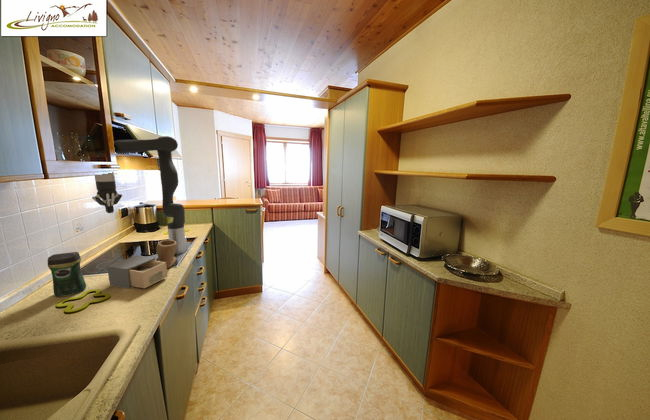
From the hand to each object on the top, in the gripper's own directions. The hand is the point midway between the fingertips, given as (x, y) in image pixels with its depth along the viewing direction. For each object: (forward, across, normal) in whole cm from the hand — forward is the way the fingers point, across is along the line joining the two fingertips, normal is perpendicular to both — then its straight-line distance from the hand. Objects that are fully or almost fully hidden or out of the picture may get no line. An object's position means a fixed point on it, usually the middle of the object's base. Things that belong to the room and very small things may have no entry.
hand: (110, 212), depth 122 cm
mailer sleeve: (+32, -8, -22) cm, 40 cm away
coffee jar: (+32, -24, -6) cm, 41 cm away
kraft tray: (+31, -8, -26) cm, 41 cm away
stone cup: (+32, +12, -21) cm, 40 cm away
